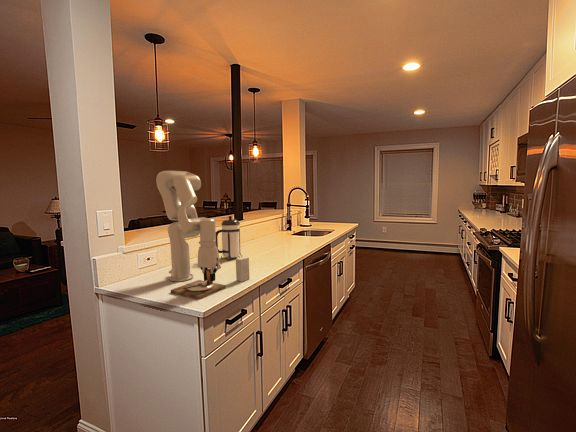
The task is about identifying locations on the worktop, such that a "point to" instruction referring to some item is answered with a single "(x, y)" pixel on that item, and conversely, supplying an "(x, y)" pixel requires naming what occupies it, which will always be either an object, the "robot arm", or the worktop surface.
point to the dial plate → (197, 294)
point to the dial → (201, 284)
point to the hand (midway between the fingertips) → (209, 280)
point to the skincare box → (242, 269)
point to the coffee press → (230, 238)
